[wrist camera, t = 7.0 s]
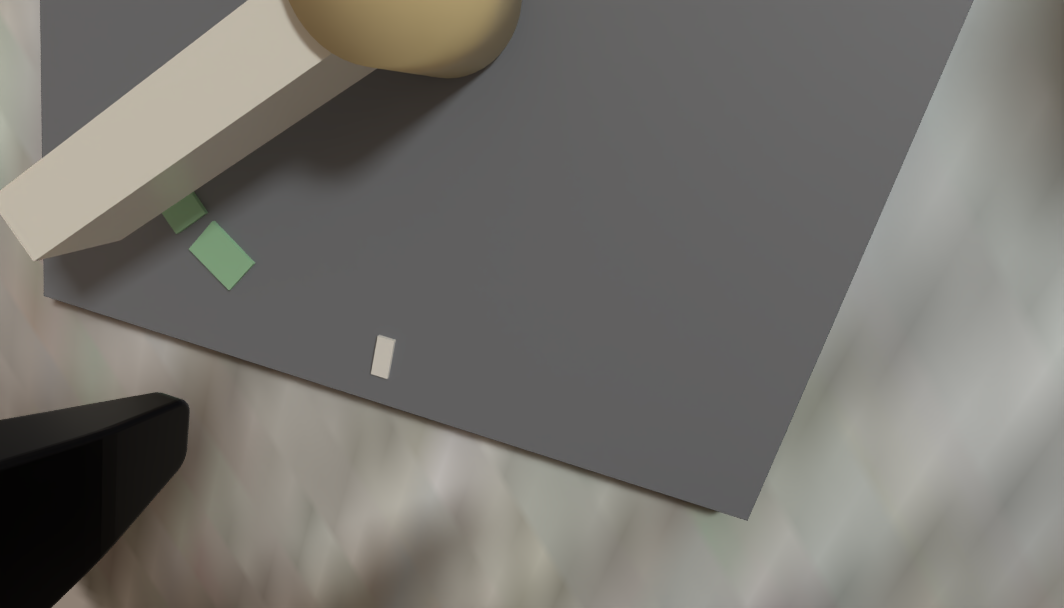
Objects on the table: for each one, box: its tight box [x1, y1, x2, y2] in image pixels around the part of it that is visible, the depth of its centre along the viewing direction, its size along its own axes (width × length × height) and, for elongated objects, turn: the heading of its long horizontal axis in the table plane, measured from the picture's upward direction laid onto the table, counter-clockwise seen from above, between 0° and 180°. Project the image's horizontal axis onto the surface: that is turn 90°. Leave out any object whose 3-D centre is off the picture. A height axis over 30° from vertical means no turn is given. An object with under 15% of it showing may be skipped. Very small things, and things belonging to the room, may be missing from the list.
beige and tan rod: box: [0, 0, 522, 261], centre depth 14 cm, size 12×4×4 cm, turn 119°
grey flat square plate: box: [40, 0, 974, 521], centre depth 15 cm, size 22×22×1 cm
